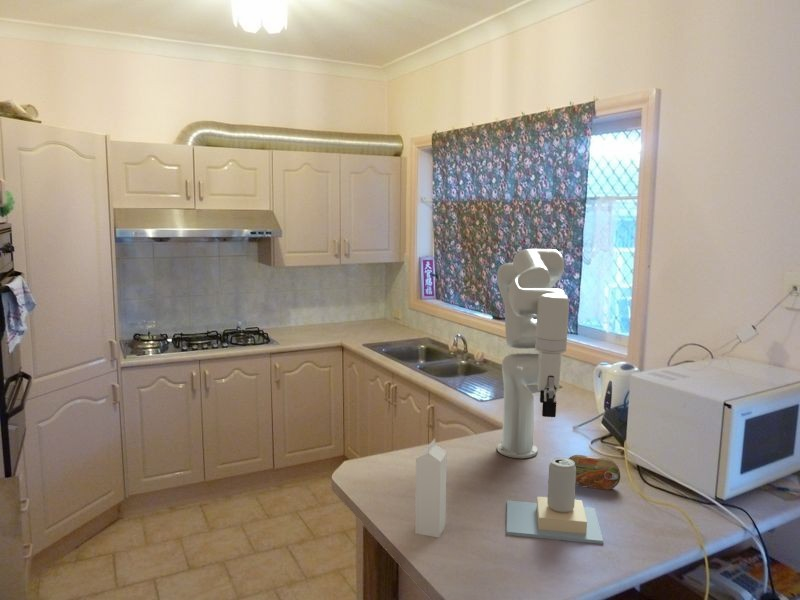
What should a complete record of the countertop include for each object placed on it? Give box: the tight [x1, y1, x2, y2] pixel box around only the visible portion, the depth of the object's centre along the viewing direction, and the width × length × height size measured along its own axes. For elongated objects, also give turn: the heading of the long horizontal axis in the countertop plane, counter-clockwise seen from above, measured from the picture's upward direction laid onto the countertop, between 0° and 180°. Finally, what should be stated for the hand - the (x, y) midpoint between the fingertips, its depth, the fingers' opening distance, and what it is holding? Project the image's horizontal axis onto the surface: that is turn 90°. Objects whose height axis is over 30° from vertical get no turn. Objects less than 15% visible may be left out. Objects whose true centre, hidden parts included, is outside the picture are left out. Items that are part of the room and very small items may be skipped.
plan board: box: [506, 496, 604, 545], centre depth 152 cm, size 16×22×4 cm
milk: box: [414, 437, 448, 539], centre depth 147 cm, size 6×6×22 cm
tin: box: [568, 454, 621, 491], centre depth 172 cm, size 15×3×8 cm, turn 70°
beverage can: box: [547, 456, 576, 513], centre depth 151 cm, size 6×6×12 cm
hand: (547, 409), depth 156 cm, fingers open, 9 cm apart
